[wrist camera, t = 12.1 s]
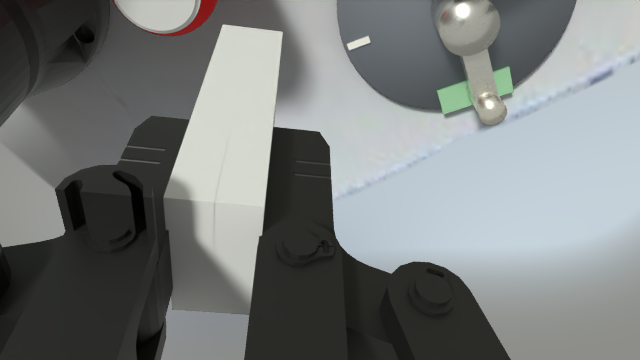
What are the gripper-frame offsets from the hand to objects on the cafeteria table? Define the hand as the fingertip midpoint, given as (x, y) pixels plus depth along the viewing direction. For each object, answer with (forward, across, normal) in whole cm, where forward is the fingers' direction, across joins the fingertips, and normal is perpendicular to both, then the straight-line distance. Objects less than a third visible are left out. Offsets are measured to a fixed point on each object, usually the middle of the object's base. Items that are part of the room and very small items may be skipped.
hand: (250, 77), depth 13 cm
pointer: (+25, -15, +8) cm, 30 cm away
